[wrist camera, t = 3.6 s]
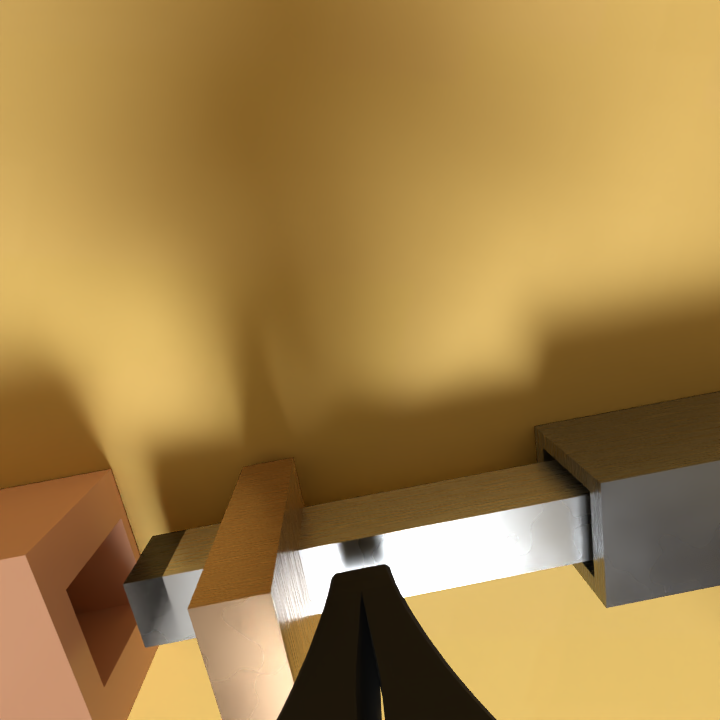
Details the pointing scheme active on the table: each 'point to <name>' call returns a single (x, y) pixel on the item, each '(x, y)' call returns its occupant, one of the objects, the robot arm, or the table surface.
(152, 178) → the table surface
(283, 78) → the table surface
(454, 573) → the tube
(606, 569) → the sleeve
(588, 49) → the table surface
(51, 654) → the socket block
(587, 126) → the table surface
